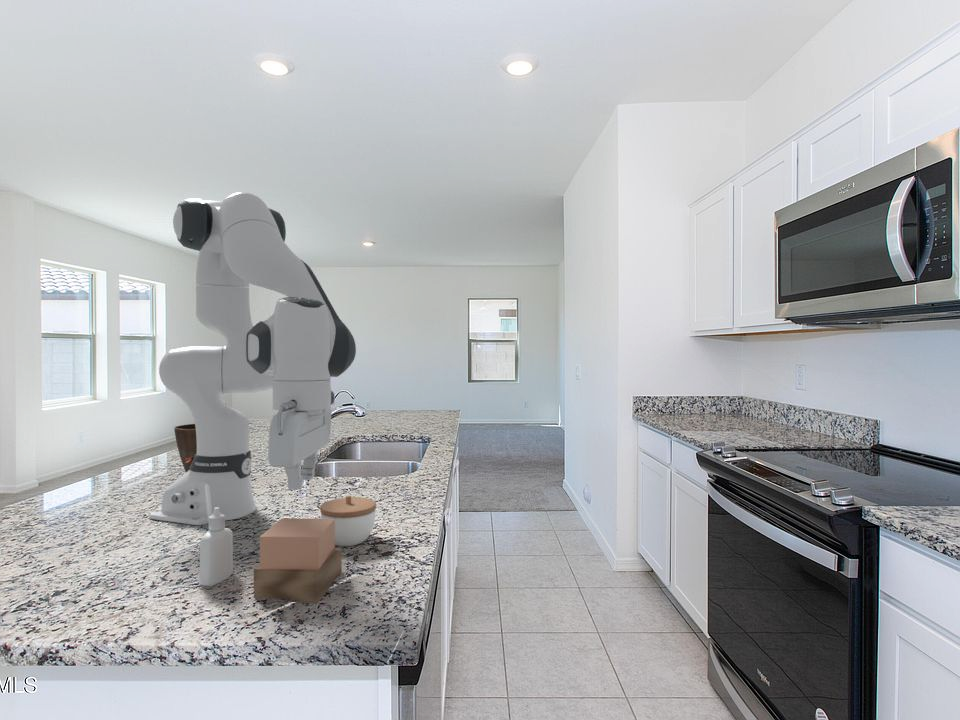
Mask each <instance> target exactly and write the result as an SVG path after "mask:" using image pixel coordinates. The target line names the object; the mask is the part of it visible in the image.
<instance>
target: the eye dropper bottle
mask: <svg viewBox="0 0 960 720" xmlns="http://www.w3.org/2000/svg"><path fill="white" fill-rule="evenodd" d="M233 573H234V536H233V531H232V530H231V529H230V528H228V527H226V520H225V515H223V514H221V513H220V510H219V507H217V508H214V513H213V515H211V516H210V517H209V523H208V531H207V532H206V533H205V534H203V536H202V537H201V539H200V541H199V585H200V586H202V587H203V586H205V587H212V586H215V585H218V584H220V583H222V582H224V581H225V580H227V579H228V578H230V577H231V576H232V575H233Z"/></svg>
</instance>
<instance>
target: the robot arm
mask: <svg viewBox="0 0 960 720" xmlns="http://www.w3.org/2000/svg"><path fill="white" fill-rule="evenodd" d="M172 223H173V224H172V225H173V229H174V233H175V235H176V238H177V241H178V243H180V244H181V245H182V246H183V247H184V248H186V249H190V250H193V251H198V257H197V262H196V271H195V311H196V313H195V315H196V318H197V321H199V324H201V325H202V326H204V327H206V328H208V329H210V330H211V331H214V332H215V333H218V334H220V335H222V336H223V337H224V338H225V339H226V343H227V344H226V345H223V346H222V345H221V346H220V345H219V346H218V345H215V346H214V345H213V346H212V345H190V346H184V347H178V348H173V349H169V350H168V351H167V352H165V354H164V356H163V357H162V359H161V361H160V363H159V367H158V373H159V374H158V375H159V378H160V380H161V382H162V384H163V385H164V387H165V388H167V390H168V391H170V392H171V393H173V394H175V395H176V396H177V397H178V398H180V399H181V400H182V401H183V402H184V403H185V404H186V406H187V407H188V409H189V410H190V413H191V415H192V418H193V421H194V424H195V427H196V438H197V454H195V455H193V456H192V457H190V458H186V459H185V460H187V459H189V461H187V462H185V463H190V462H192V463H191V466H190V468H189V469H190V470H189V471H188V472H185V473H184V474H182V475H181V476H180V477H179V478H177V479H176V480H175V481H174V482H172V483H171V484H170V485H168V486H167V487H166V488H165V490H164V492H163V494H162V499H161V506H159V507H158V508H156V509H154V510H152V511H151V512H150V513H149V519H150V520H157V521H165V522H170V523H178V524H185V525H193V526H202V525H207V524H208V525H209V517H210V516H211V515H213V513H214V508H217V507H219V510H220V513H221V514H223V515H225V521H231V520H236V519H240V518H242V517H245V516H248V515H251V514H252V513H254V512H255V511H256V510H257V505H256V502H255V499H254V494H253V493H254V492H253V489H252V482H251V481H252V480H251V472H252V451H251V450H250V420H249V419H248V416H247V415H245V413H243V412H242V411H240V410H238V409H236V408H234V407H231V406H228V405H226V404H224V403H223V401H222V400H221V398H220V397H221V396H220V395H222V394H234V393H235V394H238V393H239V394H245V393H247V394H248V393H253V394H254V393H258V392H263V391H268V390H272V410H273V411H277V412H276V414H274V415H273V416H272V418H271V420H270V425H269V432H268V434H269V435H268V446H267V447H268V448H267V450H268V451H267V459H268V463H269V465H270V467H272V468H284V471H285V474H286V478H287V488H288V489H289V490H290V491H297V490H300V488H302V487H303V481H310V480H312V479H313V478H315V476H316V475H315V471H316V470H315V468H316V465H317V459H318V451H320V450H322V449H323V448H325V447H326V446H328V444H329V440H330V436H331V427H332V425H331V423H332V405H334V404H335V402H336V401H335V399H336V398H335V397H336V396H335V392H334V391H333V390H332V388H331V377H332V378H337V377H340V376H341V375H343V373H345V372H346V371H347V370H348V369H349V367H351V365H352V364H353V362H354V360H355V358H356V354H357V346H356V342H355V338H354V335H353V334H352V332H351V330H350V329H349V328H348V327H347V325H346V324H345V323H344V322H343V320H342V319H340V317H339V315H338V313H337V312H336V309H334V306H333V305H332V303H331V301H330V300H329V298H328V296H327V294H326V292H325V291H324V289H323V287H322V284H321V283H320V282H319V280H318V278H317V276H316V275H315V273H314V271H313V270H312V268H311V267H310V266H309V265H308V264H307V263H306V262H305V261H304V260H302V259H300V258H299V257H298V256H297V255H296V254H295V253H294V251H292V249H291V248H290V247H289V246H288V245H287V244H286V242H285V241H286V236H287V232H286V231H287V229H286V223H285V220H284V218H283V216H282V214H281V213H280V212H279V211H276V210H274V209H272V208H269V207H268V206H267V204H266V203H265V202H264V201H263V200H262V198H260V197H259V196H257V195H255V194H253V193H250V192H235V193H232V194H230V195H228V196H227V197H225V198H224V199H223V200H212V199H211V200H209V199H208V200H205V199H204V200H203V199H201V198H198V197H197V198H187V199H183V200H182V201H181V202H179V203H178V205H177V206H176V209H175V211H174V214H173V218H172ZM250 285H253V286H257V287H260V288H264V289H267V290H271V291H274V292H276V293H279V294H281V295H284V296H286V297H282V298H279V299H278V300H276V303H275V307H274V311H273V314H272V315H270V317H268V318H266V320H264V321H263V320H262V321H258V322H257V323H256V324H255V325H253V322H252V321H253V320H252V317H251V316H252V315H251V307H250ZM301 467H302V469H301Z"/></svg>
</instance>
